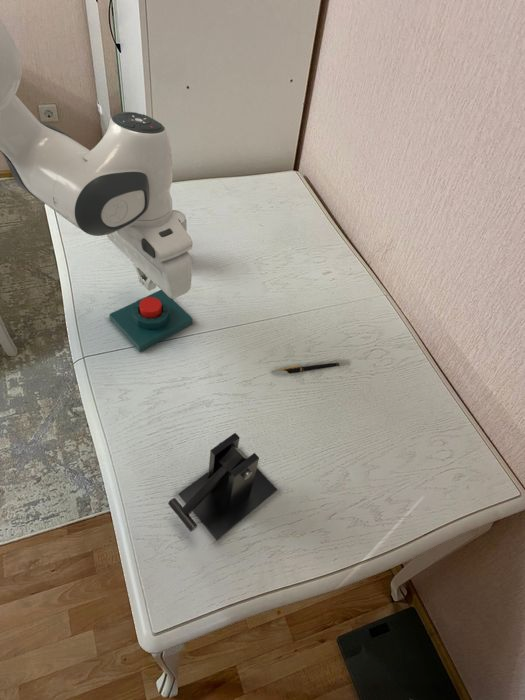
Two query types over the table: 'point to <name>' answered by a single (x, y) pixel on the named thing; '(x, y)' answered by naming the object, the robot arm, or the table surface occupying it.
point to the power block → (150, 322)
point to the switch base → (229, 491)
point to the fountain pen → (308, 367)
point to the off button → (150, 307)
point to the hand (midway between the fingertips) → (147, 285)
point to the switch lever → (207, 487)
